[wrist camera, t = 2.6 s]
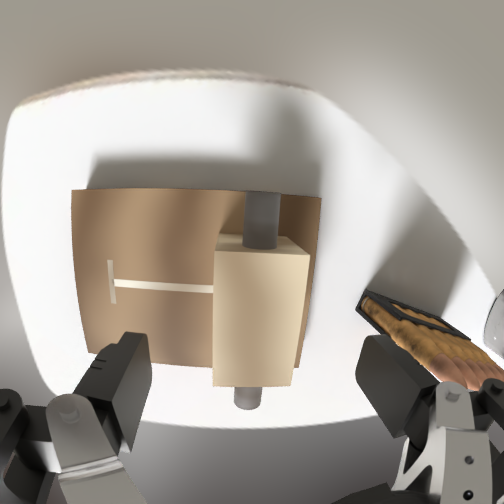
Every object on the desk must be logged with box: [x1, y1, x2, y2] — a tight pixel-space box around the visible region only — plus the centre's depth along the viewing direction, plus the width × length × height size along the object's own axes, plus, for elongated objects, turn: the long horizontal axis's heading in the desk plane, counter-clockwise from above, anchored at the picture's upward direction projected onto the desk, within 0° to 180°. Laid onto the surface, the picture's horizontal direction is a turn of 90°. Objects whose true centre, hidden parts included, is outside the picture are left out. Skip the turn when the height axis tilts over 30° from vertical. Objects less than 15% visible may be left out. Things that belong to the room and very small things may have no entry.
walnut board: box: [71, 188, 321, 368], centre depth 17 cm, size 16×12×2 cm
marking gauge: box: [213, 191, 310, 410], centre depth 14 cm, size 4×12×5 cm, turn 176°
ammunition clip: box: [355, 290, 504, 391], centre depth 15 cm, size 11×2×12 cm, turn 68°
